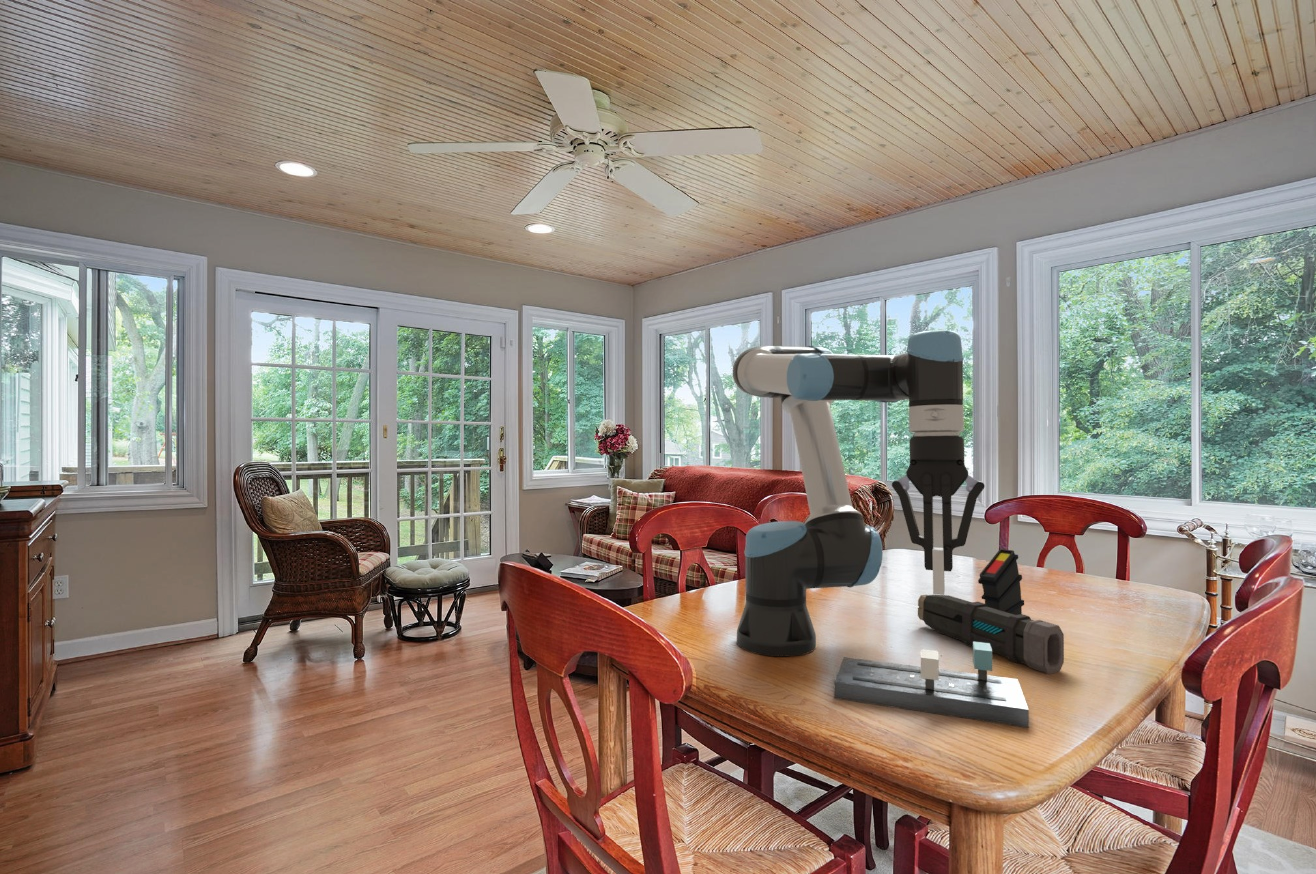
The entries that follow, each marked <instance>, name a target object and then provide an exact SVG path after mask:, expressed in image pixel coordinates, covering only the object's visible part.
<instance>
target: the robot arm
mask: <svg viewBox="0 0 1316 874" xmlns="http://www.w3.org/2000/svg"><path fill="white" fill-rule="evenodd" d="M960 335H961V334H959V333H958V332H957V331H954V330H945V329H942V330H941V329H938V330H927V331H926V330H925V331H919V332H916V333H912V334H911V335H910V337H909V338H908V341H907V348H906V352H903V353H900V354H891V355H890V354H889V355H888V354H845V353H844V354H843V353H834V352H832V351H831V350H830V349H828V348H825V347H821V346H820V347H819V346H815V345H814V346H813V345H807V346H791V345H790V346H788V345H760V346H758V345H757V346H754V347H750V348H748V349H746V350H744V351H743V352H742V353H741V354H739V356H737V358H736V360H735V361H734V362H733V366H732V378H733V382H734V383H735V385H736V386H737V387H738V389H739V390H740V391H742V392H743V393H745V394H747V395H751V396H753V397H759V398H769V399H771V398H774V399H777V398H778V399H780V402H781V405H782V409H783V411H785V412H786V413H788V414H790V417H791V422H792V427H793V431H794V437H795V443H796V447H797V454H798V458H799V463H800V467H801V468H800V469H801V473H802V479H803V483H804V489H805V492H806V493H805V495H806V499H807V504H808V511H809V516H808V518H807V519H806V521H805V522H802V521H799V520H787V521H786V520H785V521H784V520H783V521H782V520H781V521H772V522H766V523H760V524H758V525H755V526H753V527H752V528H749V530H748V531H747V532H746V535H745V545H744V546H745V549H744V551H743V553H744V557H745V559H744V560H745V561H744V562H745V563H744V564H745V567H744V568H745V573H744V574H745V605H744V606H743V610H742V614H741V616H740V620H739V623H738V627H737V630H736V644H737V645H738V646H739V647H740V648H741V649H743V650H745V651H747V652H751V653H754V654H758V655H763V656H770V657H794V656H801V655H805V654H808V653H811V652H812V651H814V650H815V649H816V647H817V635H816V631H815V628H814V625H813V623H812V619H811V617H810V613H809V610H808V607H807V589H809V590H810V589H824V588H825V589H827V588H829V589H830V588H845V587H847V588H853V587H858V586H866V585H868V584H870V583H872V582H873V581H874V580H875V579H876V578H877V577H878V575H879V573H880V569H881V567H882V563H883V556H884V555H883V542H882V539H881V535H880V534H879V531H877V529H876V528H875V527H873V526H871V525H866V524H865V522H864V516H863V514H862V513H861V512H860V511H858V510H856V509H855V508H854V507H853V503H852V499H851V494H850V490H849V489H850V488H849V486H848V481H847V476H846V472H845V468H844V462H843V458H842V454H841V449H840V445H839V441H838V436H837V432H836V427H835V423H834V417H833V413H832V410H831V405H832V404H833V403H834V402H835V401H871V402H873V401H875V402H878V403H897V402H900V401H905V400H908V425H909V426H908V430H909V432H910V434H913V435H912V436H910V438H909V443H908V444H909V465H908V468H907V469H906V474H905V475H904V476H902V477H900V478H899V479H895V480H894V481H893V482H891V487H892V488H893V490H894V491H895V492H896V494H897V496H898V498H899V501H900V505H901V508H902V512H903V516H904V521H905V524H906V527H907V531H908V535H909V538H910V541H911V543H912V544H914V545H917V546H921V547H922V549H923V551H924V555H923V557H924V564H923V565H924V568H925V570H926V571H932V589H933V590H932V595H945V589H946V588H945V587H946V586H945V584H946V583H945V572H952V570H953V567H954V566H953V565H954V563H953V550H955V549H956V548H959V547H964V546H965V545H966V542H967V538H968V534H969V530H970V526H971V523H972V520H973V513H974V510H975V507H976V502H977V500H978V499H977V498H978V497H979V495H980V494H981V493H982V491H983V490H984V489H985V483H984V482H983V481H980V480H977V479H976V478H974V477H973V476H971V475H969V471H968V469H967V467H966V465H965V438H963V435H960V433H962V432H964V431H965V424H964V423H965V421H964V419H965V418H964V414H965V413H964V401H963V400H964V358H965V357H964V355H963V347H962V338H961V336H960ZM909 482H911V483H912V485H913V486H914V488H915V489H916V490H917V491H918V493H919V494H920V495H921V496H922V503H923V504H922V505H923V506H922V507H923V536H922V535H921V534H920V531H919V527H918V523H917V519H916V515H915V513H914V512H915V511H914V508H913V505H912V502H911V497H910V495H909V492H908V491H909V490H910V488H911V487H910V483H909ZM964 483H966V486H965V489H966V491H967V492H968V494H967V496H966V499H965V505H964V509H963V512H962V517H961V520H960V525H959V527H958V528H959V529H958V532H957V535H956V537H953V522H952V521H953V518H952V517H953V514H952V496H954V495H955V494H956V493H957V492H958V490H959V489H960V488H961V486H962V485H963V484H964ZM934 497H941V505H942V506H941V507H942V508H941V512H942V514H941V515H942V547H934Z"/></svg>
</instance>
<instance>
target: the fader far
mask: <svg viewBox="0 0 1316 874" xmlns="http://www.w3.org/2000/svg"><path fill="white" fill-rule="evenodd" d="M972 662H973V666H974V667H973V668H974V670H977V674H978V679H982V680H987V675H988V671H989V672H993V652H992V649H991V646H990V643H982V642H973V647H972Z"/></svg>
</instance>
